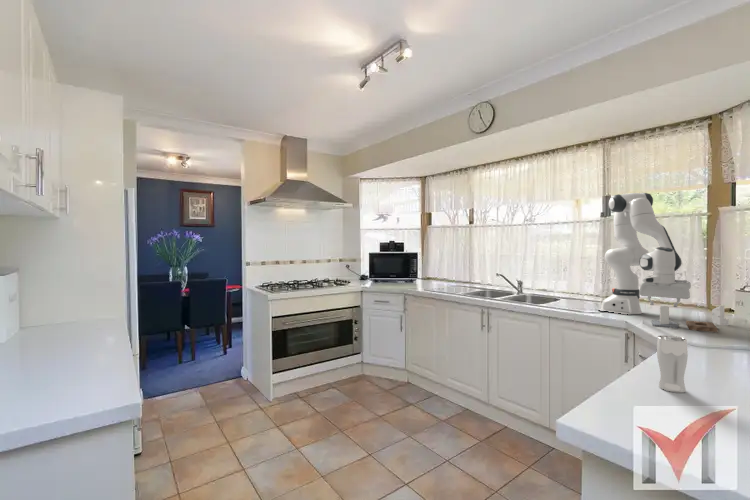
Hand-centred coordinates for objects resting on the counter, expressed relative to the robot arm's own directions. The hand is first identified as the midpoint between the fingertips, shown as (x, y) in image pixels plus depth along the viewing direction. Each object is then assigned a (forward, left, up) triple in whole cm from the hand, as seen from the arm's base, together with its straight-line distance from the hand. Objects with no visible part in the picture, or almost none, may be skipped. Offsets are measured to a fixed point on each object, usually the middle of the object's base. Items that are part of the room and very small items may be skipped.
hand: (663, 305), depth 185 cm
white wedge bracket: (+23, +15, -10) cm, 30 cm away
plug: (0, -1, -9) cm, 9 cm away
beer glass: (-3, -101, -10) cm, 101 cm away
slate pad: (0, -1, -10) cm, 10 cm away
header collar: (+14, -1, -10) cm, 17 cm away
